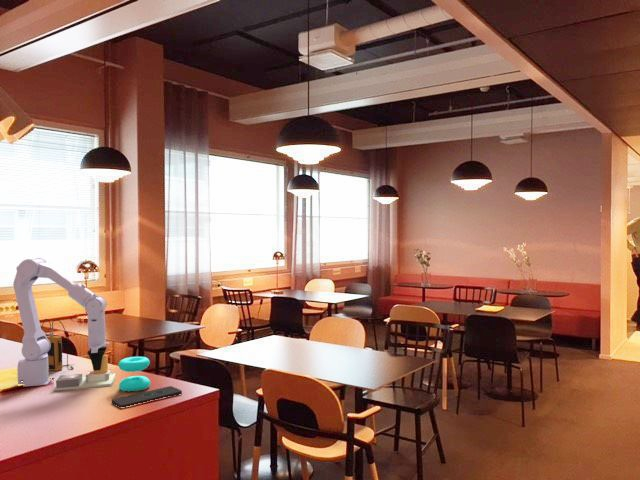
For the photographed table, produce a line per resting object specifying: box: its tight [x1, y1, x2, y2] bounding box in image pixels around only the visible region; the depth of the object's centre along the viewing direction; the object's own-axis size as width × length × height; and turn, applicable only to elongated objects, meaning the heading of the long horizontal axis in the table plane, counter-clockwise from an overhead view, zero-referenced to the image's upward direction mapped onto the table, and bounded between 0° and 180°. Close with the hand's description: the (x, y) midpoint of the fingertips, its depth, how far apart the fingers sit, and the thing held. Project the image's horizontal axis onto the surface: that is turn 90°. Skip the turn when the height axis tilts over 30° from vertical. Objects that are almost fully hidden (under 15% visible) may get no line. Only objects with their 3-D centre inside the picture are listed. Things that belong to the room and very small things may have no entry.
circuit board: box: [54, 372, 117, 392], centre depth 191 cm, size 18×14×1 cm
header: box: [85, 368, 112, 382], centre depth 194 cm, size 8×6×2 cm
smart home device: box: [111, 386, 183, 408], centre depth 172 cm, size 8×2×20 cm
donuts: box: [118, 356, 151, 393], centre depth 183 cm, size 10×10×10 cm
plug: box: [92, 354, 109, 374], centre depth 194 cm, size 5×3×7 cm, turn 105°
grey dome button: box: [55, 373, 83, 388], centre depth 187 cm, size 7×7×3 cm
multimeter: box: [41, 318, 75, 372], centre depth 214 cm, size 15×10×20 cm
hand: (97, 368), depth 194 cm, fingers closed on plug, 3 cm apart
